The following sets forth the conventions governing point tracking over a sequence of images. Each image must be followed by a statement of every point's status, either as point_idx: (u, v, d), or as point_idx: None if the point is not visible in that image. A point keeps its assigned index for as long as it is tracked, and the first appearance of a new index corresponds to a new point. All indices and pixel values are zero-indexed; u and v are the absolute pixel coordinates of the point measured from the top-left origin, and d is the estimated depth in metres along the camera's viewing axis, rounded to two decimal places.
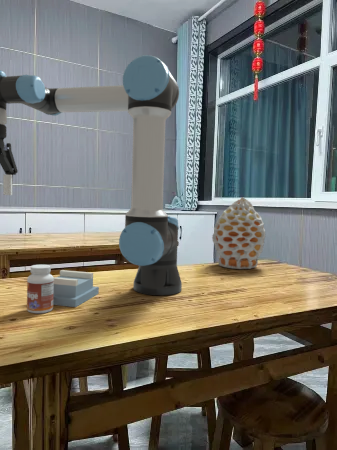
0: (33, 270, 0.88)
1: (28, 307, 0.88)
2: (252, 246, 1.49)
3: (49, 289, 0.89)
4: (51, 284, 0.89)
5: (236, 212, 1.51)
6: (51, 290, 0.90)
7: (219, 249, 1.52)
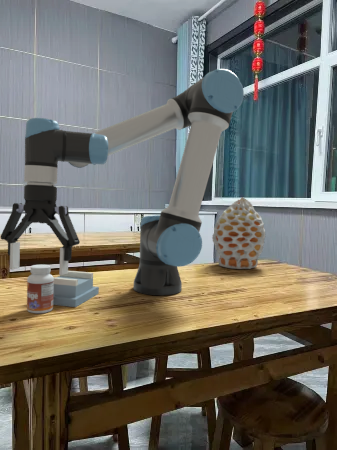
0: (33, 270, 0.88)
1: (28, 307, 0.88)
2: (252, 246, 1.49)
3: (49, 289, 0.89)
4: (51, 284, 0.89)
5: (236, 212, 1.51)
6: (51, 290, 0.90)
7: (219, 249, 1.52)
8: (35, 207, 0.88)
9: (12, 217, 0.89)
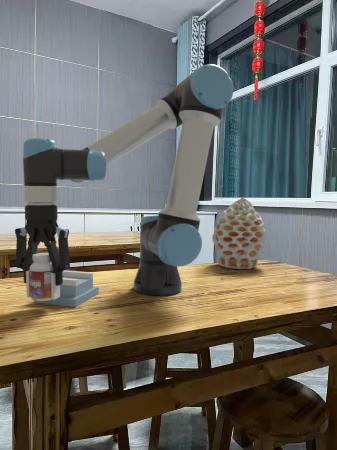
0: (35, 258, 0.88)
1: (32, 295, 0.88)
2: (252, 246, 1.49)
3: None
4: None
5: (236, 212, 1.51)
6: None
7: (219, 249, 1.52)
8: (35, 223, 0.88)
9: (19, 242, 0.90)
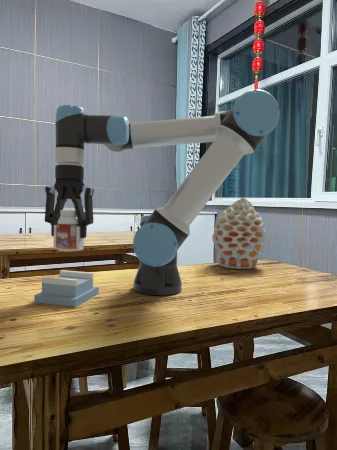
0: (63, 212, 0.98)
1: (58, 246, 0.99)
2: (252, 246, 1.49)
3: None
4: None
5: (236, 212, 1.51)
6: None
7: (219, 249, 1.52)
8: (64, 181, 0.99)
9: (48, 199, 1.00)
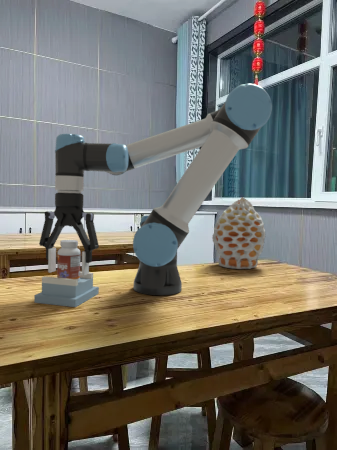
0: (63, 243, 0.99)
1: (58, 277, 1.00)
2: (252, 246, 1.49)
3: (77, 260, 1.00)
4: (78, 256, 1.01)
5: (236, 212, 1.51)
6: (79, 262, 1.01)
7: (219, 249, 1.52)
8: (64, 210, 0.99)
9: (46, 224, 1.01)
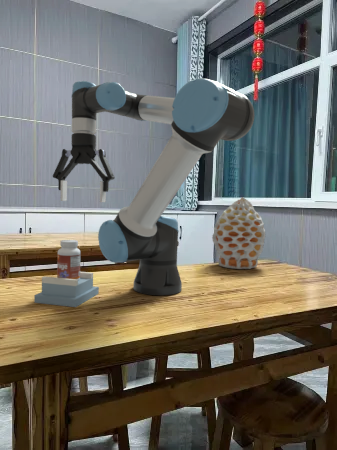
0: (63, 243, 0.99)
1: (58, 277, 1.00)
2: (252, 246, 1.49)
3: (77, 260, 1.00)
4: (78, 256, 1.01)
5: (236, 212, 1.51)
6: (79, 262, 1.01)
7: (219, 249, 1.52)
8: (80, 151, 1.14)
9: (62, 160, 1.16)
